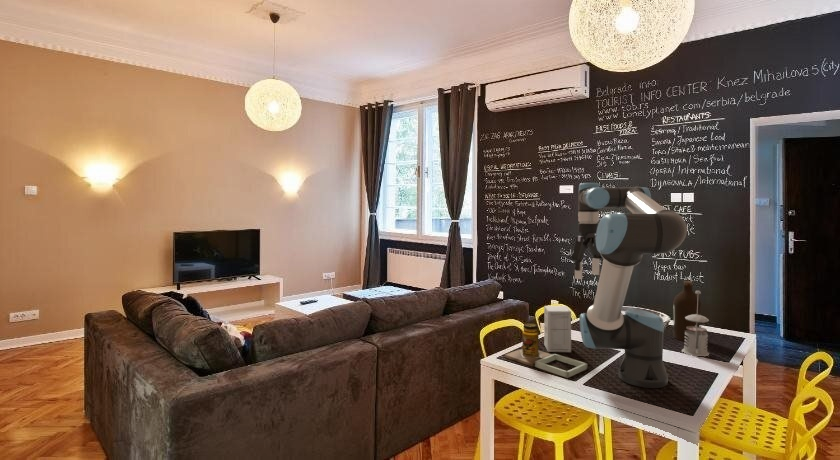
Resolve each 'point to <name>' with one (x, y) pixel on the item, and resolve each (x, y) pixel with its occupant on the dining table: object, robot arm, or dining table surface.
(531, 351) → the condiment
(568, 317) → the supplement box
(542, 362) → the tray
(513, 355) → the board
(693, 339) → the french press
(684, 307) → the olive oil
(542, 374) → the dining table surface
